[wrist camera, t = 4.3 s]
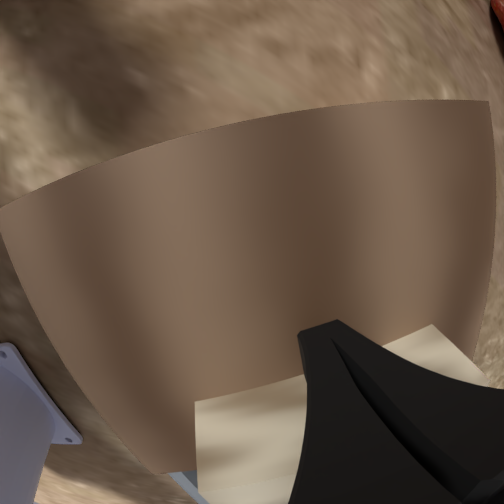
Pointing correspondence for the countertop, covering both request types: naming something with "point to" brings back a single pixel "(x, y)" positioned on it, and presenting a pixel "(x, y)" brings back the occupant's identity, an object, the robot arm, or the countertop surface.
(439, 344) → the cream rectangular box
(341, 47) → the countertop surface
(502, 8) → the pomegranate
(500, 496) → the robot arm
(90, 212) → the walnut plate
